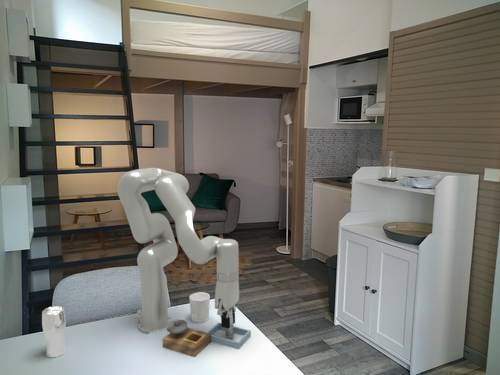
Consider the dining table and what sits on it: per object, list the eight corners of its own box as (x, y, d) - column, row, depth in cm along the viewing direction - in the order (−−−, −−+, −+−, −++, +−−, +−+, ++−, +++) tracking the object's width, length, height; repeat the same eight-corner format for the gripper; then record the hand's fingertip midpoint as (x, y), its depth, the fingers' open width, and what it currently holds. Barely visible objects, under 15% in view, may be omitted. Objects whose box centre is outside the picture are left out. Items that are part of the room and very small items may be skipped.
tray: (204, 342, 137) (204, 334, 136) (218, 330, 145) (218, 322, 145) (238, 351, 131) (238, 343, 131) (250, 338, 139) (250, 330, 139)
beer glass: (72, 348, 132) (69, 307, 130) (56, 360, 126) (53, 316, 124) (56, 345, 135) (53, 304, 132) (39, 356, 128) (36, 313, 126)
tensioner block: (160, 349, 132) (159, 327, 131) (178, 335, 141) (177, 314, 140) (194, 359, 126) (194, 337, 125) (211, 344, 135) (210, 323, 134)
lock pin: (222, 336, 137) (219, 306, 135) (227, 331, 140) (225, 301, 139) (232, 338, 135) (229, 307, 133) (237, 333, 138) (235, 302, 137)
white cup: (206, 326, 148) (206, 301, 146) (187, 324, 149) (186, 299, 148) (212, 316, 156) (212, 293, 154) (193, 315, 157) (193, 291, 156)
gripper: (229, 266, 143) (230, 313, 146) (205, 281, 129) (206, 333, 132) (247, 269, 140) (247, 317, 143) (225, 285, 126) (226, 338, 128)
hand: (228, 324), depth 137 cm, fingers closed on lock pin, 3 cm apart
